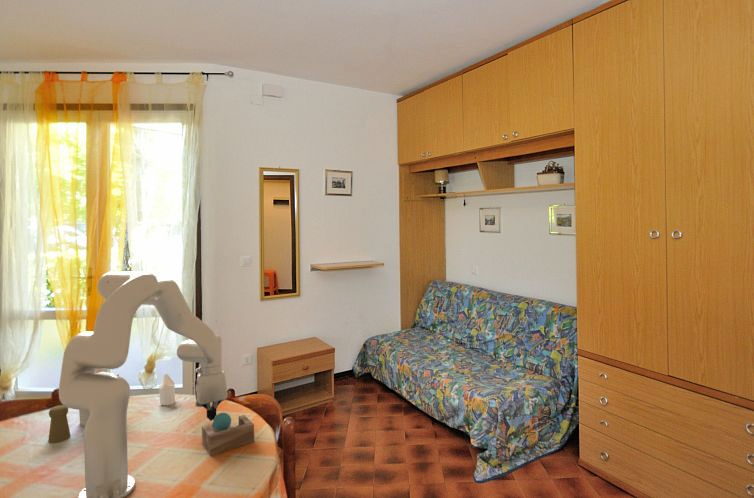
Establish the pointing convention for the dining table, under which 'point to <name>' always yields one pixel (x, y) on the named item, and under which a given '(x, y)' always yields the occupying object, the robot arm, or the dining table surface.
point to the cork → (58, 424)
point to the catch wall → (228, 436)
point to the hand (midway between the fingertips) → (211, 418)
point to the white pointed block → (167, 391)
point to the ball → (222, 421)
